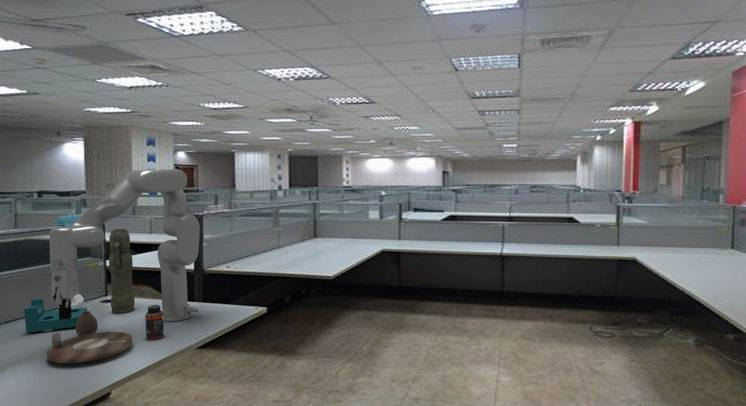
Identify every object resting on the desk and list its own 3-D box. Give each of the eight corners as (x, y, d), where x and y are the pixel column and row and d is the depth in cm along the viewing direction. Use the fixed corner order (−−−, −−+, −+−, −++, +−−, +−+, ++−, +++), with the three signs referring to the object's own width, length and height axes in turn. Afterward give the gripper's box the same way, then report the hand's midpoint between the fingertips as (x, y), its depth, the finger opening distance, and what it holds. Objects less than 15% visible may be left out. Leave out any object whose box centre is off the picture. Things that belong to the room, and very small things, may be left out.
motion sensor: (60, 315, 199) (59, 296, 198) (64, 310, 206) (63, 292, 205) (83, 312, 202) (82, 294, 202) (86, 308, 209) (85, 290, 209)
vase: (102, 332, 175) (101, 309, 175) (89, 339, 169) (88, 315, 168) (84, 332, 176) (83, 309, 176) (71, 339, 169) (70, 314, 169)
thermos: (109, 316, 196) (105, 231, 194) (112, 309, 207) (109, 229, 205) (133, 313, 200) (130, 230, 197) (135, 306, 210) (131, 227, 208)
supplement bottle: (168, 335, 171) (167, 304, 171) (155, 341, 166) (154, 309, 165) (155, 334, 173) (153, 303, 172) (142, 339, 168) (140, 307, 167)
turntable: (140, 333, 169) (140, 318, 169) (119, 359, 146) (118, 341, 145) (66, 339, 165) (65, 323, 164) (31, 366, 141) (30, 348, 141)
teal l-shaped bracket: (26, 336, 175) (24, 309, 173) (34, 325, 184) (31, 299, 183) (83, 329, 182) (81, 303, 180) (87, 319, 192) (85, 294, 190)
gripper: (66, 267, 152) (68, 324, 153) (85, 260, 167) (86, 312, 168) (40, 268, 151) (42, 325, 152) (61, 261, 165) (62, 313, 166)
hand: (65, 318), depth 160 cm, fingers closed
